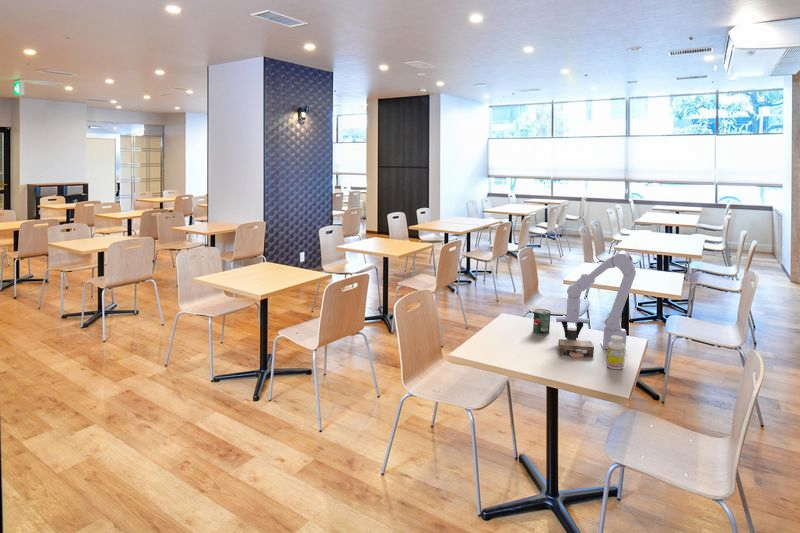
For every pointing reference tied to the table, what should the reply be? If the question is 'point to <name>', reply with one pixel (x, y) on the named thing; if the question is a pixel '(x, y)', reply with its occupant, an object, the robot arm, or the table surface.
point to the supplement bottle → (616, 353)
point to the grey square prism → (571, 336)
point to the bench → (575, 346)
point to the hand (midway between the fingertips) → (571, 337)
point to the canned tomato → (541, 321)
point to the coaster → (576, 354)
